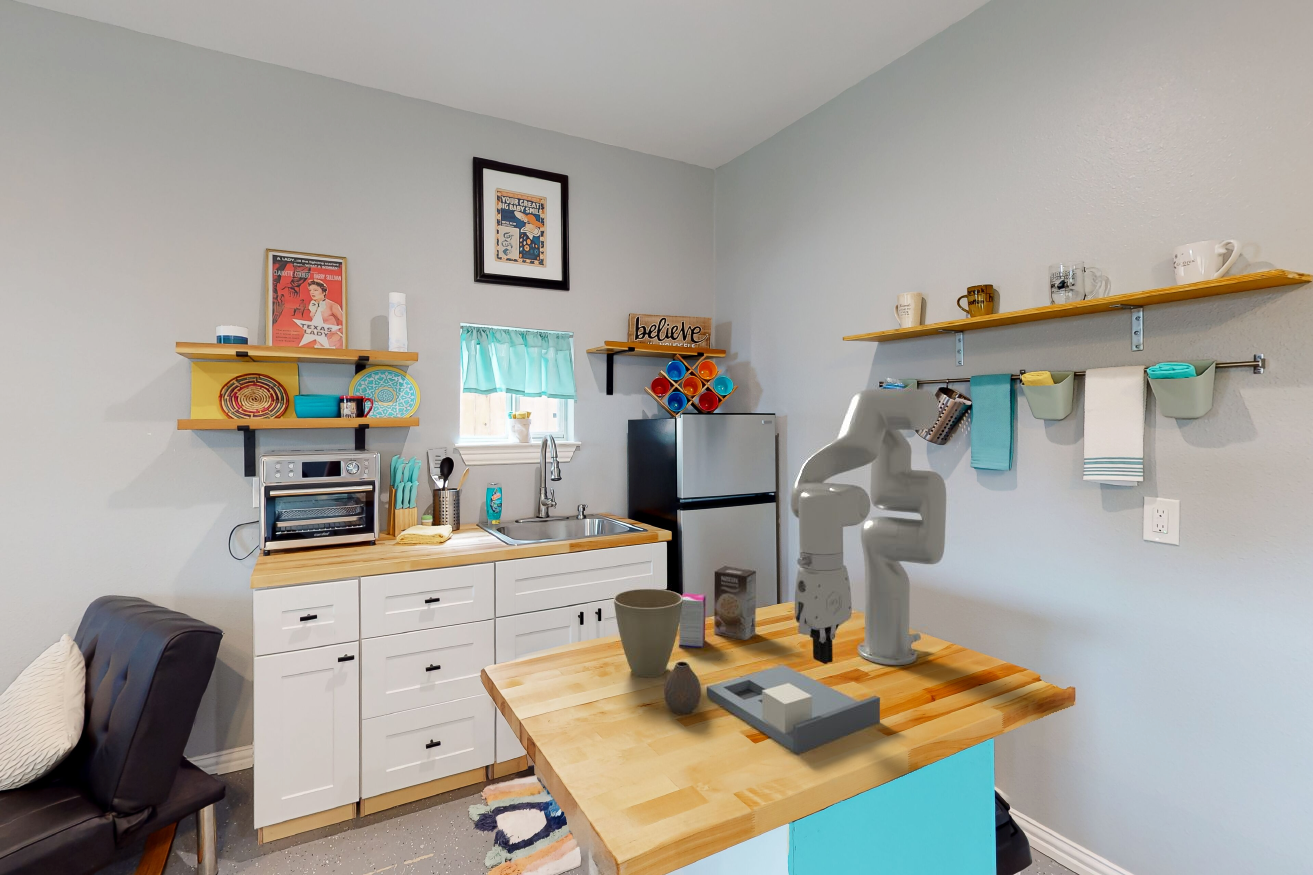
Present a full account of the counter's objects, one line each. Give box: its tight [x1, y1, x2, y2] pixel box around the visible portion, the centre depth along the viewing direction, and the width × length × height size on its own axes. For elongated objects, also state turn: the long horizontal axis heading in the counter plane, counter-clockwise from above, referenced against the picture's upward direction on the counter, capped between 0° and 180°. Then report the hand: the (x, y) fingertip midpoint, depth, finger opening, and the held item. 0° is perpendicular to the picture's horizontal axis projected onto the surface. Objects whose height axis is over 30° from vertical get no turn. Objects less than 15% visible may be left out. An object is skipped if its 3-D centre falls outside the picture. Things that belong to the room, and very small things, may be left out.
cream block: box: [762, 683, 812, 733], centre depth 109 cm, size 6×6×5 cm
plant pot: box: [613, 588, 683, 678], centre depth 137 cm, size 15×15×16 cm
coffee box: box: [713, 565, 757, 641], centre depth 159 cm, size 9×6×16 cm
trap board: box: [706, 664, 881, 755], centre depth 118 cm, size 20×25×4 cm
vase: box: [663, 661, 702, 716], centre depth 118 cm, size 7×7×9 cm
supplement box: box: [678, 593, 707, 649], centre depth 152 cm, size 6×6×12 cm
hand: (822, 660), depth 113 cm, fingers closed
